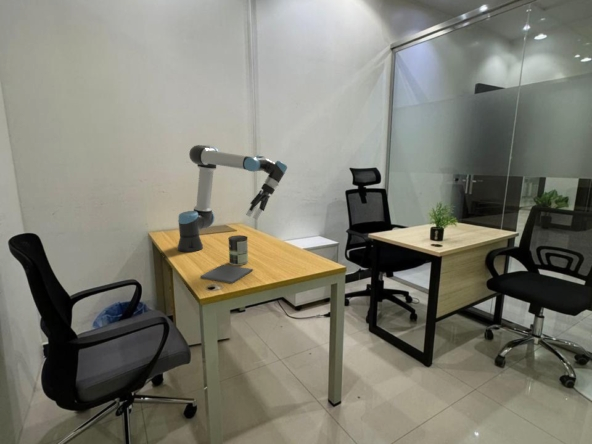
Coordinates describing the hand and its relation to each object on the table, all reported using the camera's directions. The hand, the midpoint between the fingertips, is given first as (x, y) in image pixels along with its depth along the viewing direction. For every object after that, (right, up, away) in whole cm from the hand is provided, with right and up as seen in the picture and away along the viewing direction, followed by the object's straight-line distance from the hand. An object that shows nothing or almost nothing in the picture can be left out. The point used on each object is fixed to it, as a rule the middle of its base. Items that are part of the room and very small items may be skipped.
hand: (251, 217), depth 183 cm
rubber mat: (-8, -28, -30) cm, 42 cm away
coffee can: (-5, -25, -12) cm, 28 cm away
